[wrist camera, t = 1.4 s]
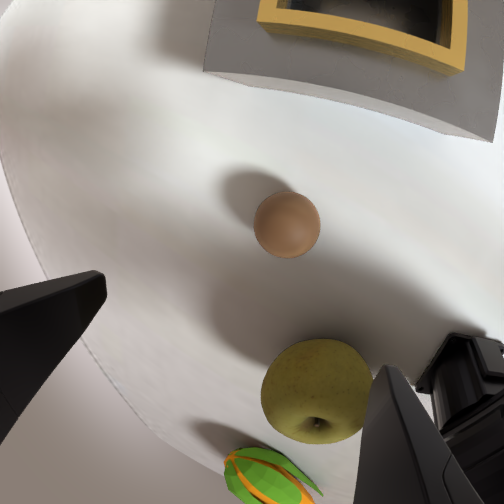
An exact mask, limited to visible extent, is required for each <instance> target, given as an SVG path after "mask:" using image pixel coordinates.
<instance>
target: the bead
mask: <svg viewBox="0 0 504 504" xmlns="http://www.w3.org/2000/svg"><path fill="white" fill-rule="evenodd" d="M254 232H255V235H256V238H257V240H258V242H259V244H260V245H261V246H262V247H263V248H264V249H265V250H266V251H267V252H268V253H270V254H272V255H274V256H277V257H280V258H295V257H298V256H300V255H303V254H304V253H306V252H307V251H309V250H310V249H311V248H312V247H313V245H314V244H315V243H316V241H317V239H318V236H319V233H320V218H319V214H318V212H317V210H316V208H315V206H314V205H313V203H312V202H311V201H310V200H309V199H307V198H306V197H304V196H303V195H301V194H298V193H295V192H279V193H276V194H273V195H271V196H269V197H268V198H267V199H265V200H264V201H263V202H262V203H261V205H260V206H259V208H258V209H257V212H256V214H255V218H254Z"/></svg>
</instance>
